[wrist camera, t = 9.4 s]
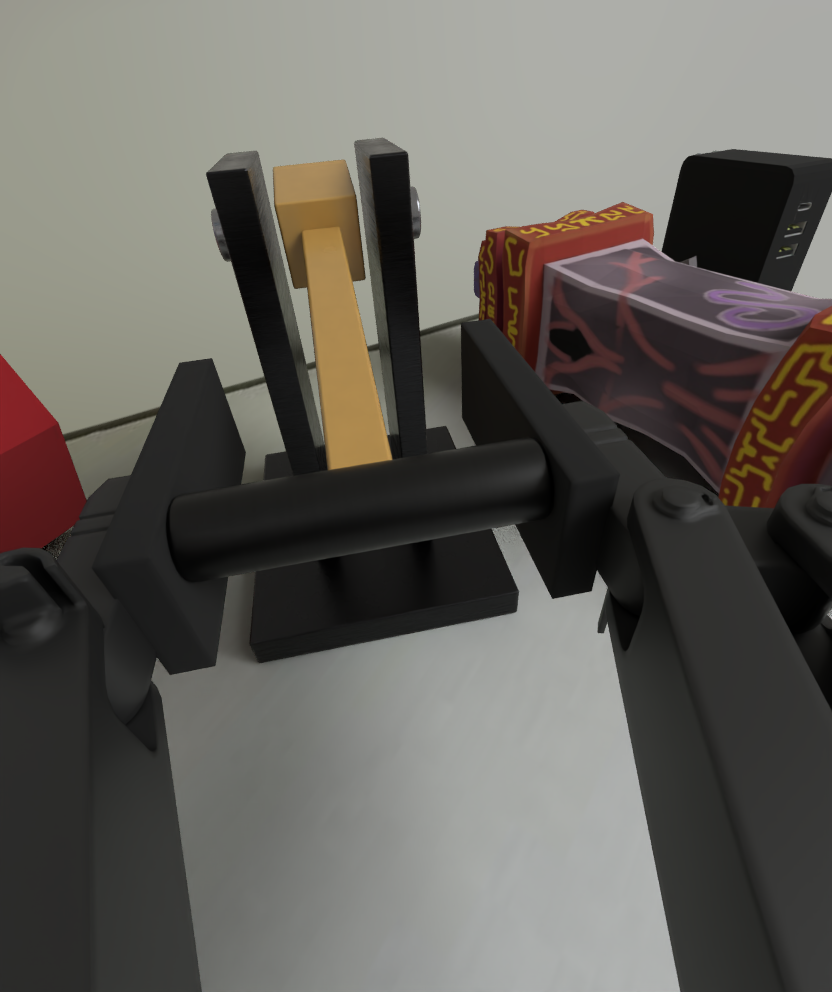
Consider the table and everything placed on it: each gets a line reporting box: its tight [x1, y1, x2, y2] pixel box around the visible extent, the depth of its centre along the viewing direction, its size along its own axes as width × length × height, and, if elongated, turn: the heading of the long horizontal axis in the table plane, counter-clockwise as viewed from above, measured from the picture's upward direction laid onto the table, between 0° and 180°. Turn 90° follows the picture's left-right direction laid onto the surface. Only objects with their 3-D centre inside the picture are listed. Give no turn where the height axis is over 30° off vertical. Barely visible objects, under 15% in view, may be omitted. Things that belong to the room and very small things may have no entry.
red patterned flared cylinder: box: [474, 202, 832, 508], centre depth 26 cm, size 10×9×30 cm
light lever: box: [167, 160, 554, 582], centre depth 12 cm, size 13×6×2 cm, turn 10°
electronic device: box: [662, 149, 832, 291], centre depth 39 cm, size 4×10×10 cm, turn 21°
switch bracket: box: [206, 138, 519, 663], centre depth 19 cm, size 12×10×15 cm
